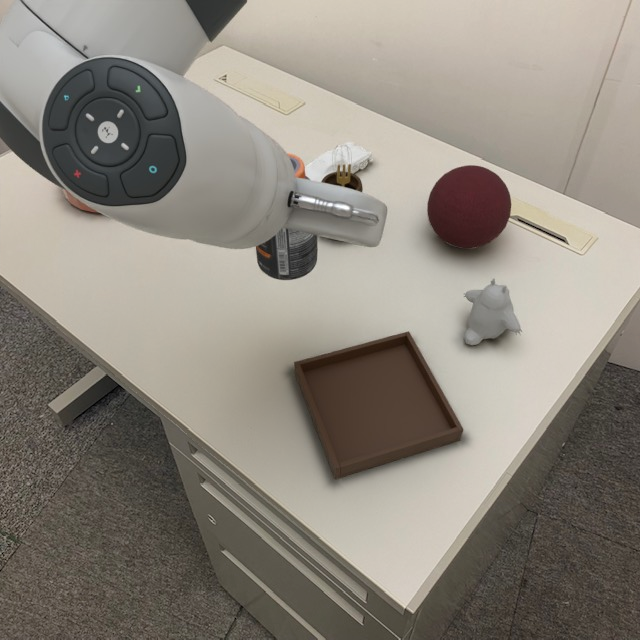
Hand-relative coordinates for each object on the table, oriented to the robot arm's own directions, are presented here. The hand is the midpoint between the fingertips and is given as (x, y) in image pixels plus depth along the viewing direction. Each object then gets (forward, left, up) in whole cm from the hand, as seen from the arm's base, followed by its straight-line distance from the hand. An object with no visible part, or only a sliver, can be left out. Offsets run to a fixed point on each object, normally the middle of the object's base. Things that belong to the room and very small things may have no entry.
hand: (286, 210), depth 59 cm
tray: (+5, -12, -17) cm, 22 cm away
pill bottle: (0, -1, -6) cm, 6 cm away
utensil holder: (+11, +15, -18) cm, 25 cm away
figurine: (+20, -7, -18) cm, 27 cm away
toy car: (+14, +26, -18) cm, 34 cm away
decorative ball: (+25, +8, -18) cm, 31 cm away
